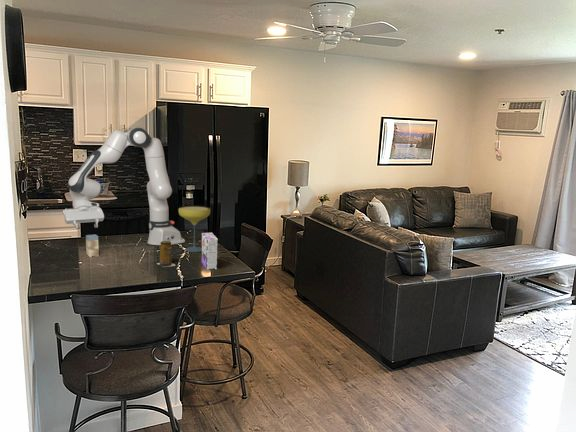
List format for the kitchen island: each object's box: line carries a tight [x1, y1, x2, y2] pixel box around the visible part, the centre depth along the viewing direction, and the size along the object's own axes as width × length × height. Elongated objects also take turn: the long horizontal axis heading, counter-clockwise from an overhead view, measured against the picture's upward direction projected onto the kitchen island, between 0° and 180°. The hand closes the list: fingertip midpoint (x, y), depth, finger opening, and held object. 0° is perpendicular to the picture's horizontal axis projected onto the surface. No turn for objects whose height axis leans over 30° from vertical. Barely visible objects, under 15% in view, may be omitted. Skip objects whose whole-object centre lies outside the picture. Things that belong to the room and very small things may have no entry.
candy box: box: [201, 232, 219, 271], centre depth 236 cm, size 14×6×16 cm, turn 21°
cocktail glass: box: [178, 204, 211, 253], centre depth 266 cm, size 18×18×25 cm
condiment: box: [156, 241, 177, 268], centre depth 236 cm, size 7×8×12 cm
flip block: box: [85, 234, 100, 258], centre depth 246 cm, size 5×5×11 cm
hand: (87, 227), depth 251 cm, fingers open, 8 cm apart
